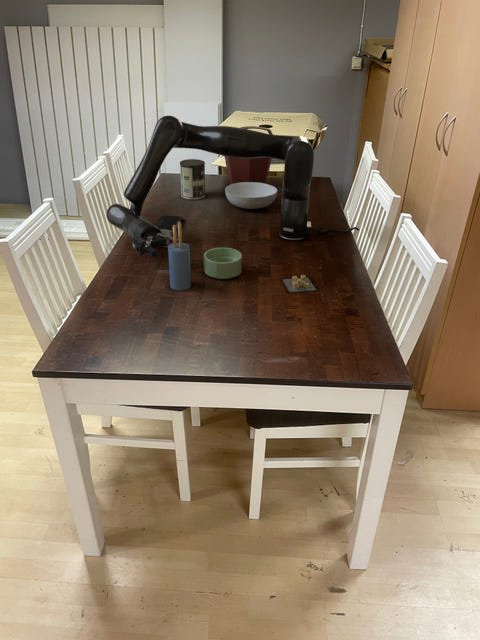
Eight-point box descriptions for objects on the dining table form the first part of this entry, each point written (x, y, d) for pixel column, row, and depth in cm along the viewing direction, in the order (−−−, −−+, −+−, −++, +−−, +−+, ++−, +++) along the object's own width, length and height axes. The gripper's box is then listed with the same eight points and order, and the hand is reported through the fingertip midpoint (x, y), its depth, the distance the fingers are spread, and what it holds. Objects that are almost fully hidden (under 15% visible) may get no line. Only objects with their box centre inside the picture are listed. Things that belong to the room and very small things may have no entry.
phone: (182, 216, 193) (175, 231, 180) (182, 219, 194) (175, 234, 181) (161, 215, 194) (153, 230, 181) (162, 218, 194) (153, 233, 181)
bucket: (273, 178, 242) (276, 122, 229) (277, 193, 224) (281, 132, 211) (221, 177, 242) (221, 121, 229) (221, 192, 223) (221, 132, 210)
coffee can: (206, 192, 222) (205, 159, 215) (204, 200, 214) (204, 165, 206) (182, 191, 222) (181, 158, 215) (179, 199, 214) (178, 165, 206)
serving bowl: (285, 203, 212) (286, 187, 208) (259, 218, 196) (260, 200, 193) (242, 194, 221) (243, 178, 217) (214, 207, 206) (214, 190, 202)
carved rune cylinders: (293, 289, 148) (293, 283, 147) (288, 281, 152) (288, 275, 151) (310, 288, 149) (310, 282, 148) (304, 280, 153) (305, 274, 152)
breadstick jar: (192, 281, 151) (190, 219, 141) (189, 291, 146) (186, 227, 136) (172, 280, 151) (169, 218, 141) (168, 289, 146) (164, 226, 136)
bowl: (243, 264, 161) (243, 248, 158) (239, 281, 151) (240, 264, 149) (206, 262, 162) (206, 246, 159) (201, 279, 152) (201, 262, 149)
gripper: (121, 226, 154) (145, 244, 143) (164, 217, 161) (190, 234, 150) (124, 249, 158) (147, 268, 147) (165, 239, 165) (191, 257, 154)
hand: (169, 251), depth 148 cm, fingers open, 8 cm apart
